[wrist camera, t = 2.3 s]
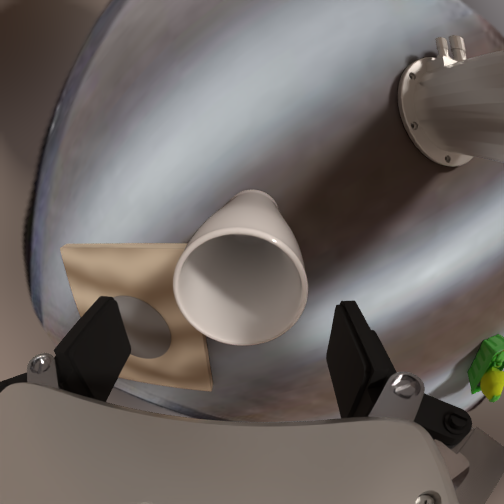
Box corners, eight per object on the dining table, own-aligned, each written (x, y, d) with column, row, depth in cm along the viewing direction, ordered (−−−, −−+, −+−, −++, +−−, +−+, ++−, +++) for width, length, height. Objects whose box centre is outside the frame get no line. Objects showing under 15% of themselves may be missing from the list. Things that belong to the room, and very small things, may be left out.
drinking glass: (272, 170, 25) (281, 203, 11) (296, 233, 27) (325, 326, 13) (207, 196, 26) (146, 257, 12) (234, 256, 28) (208, 359, 15)
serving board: (66, 243, 29) (58, 249, 27) (195, 243, 28) (191, 249, 26) (109, 368, 37) (104, 375, 35) (213, 383, 36) (211, 392, 35)
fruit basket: (484, 368, 36) (506, 403, 26) (456, 380, 37) (478, 420, 26) (504, 326, 32) (534, 361, 21) (476, 338, 32) (507, 379, 22)
